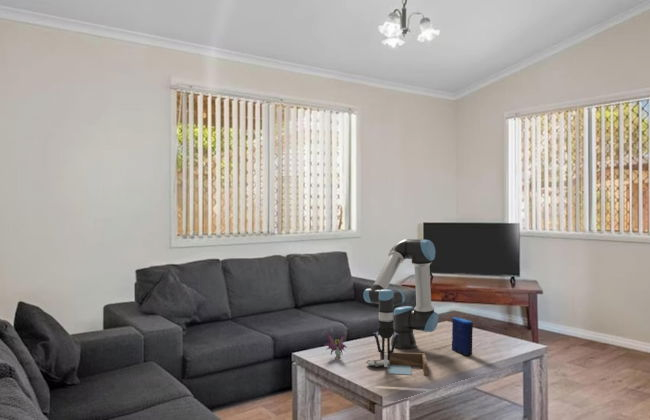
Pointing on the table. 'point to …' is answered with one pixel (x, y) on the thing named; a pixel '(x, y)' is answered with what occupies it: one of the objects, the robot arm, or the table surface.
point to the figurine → (336, 345)
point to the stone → (376, 362)
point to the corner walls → (408, 359)
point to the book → (462, 336)
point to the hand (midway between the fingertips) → (385, 366)
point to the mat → (399, 369)
